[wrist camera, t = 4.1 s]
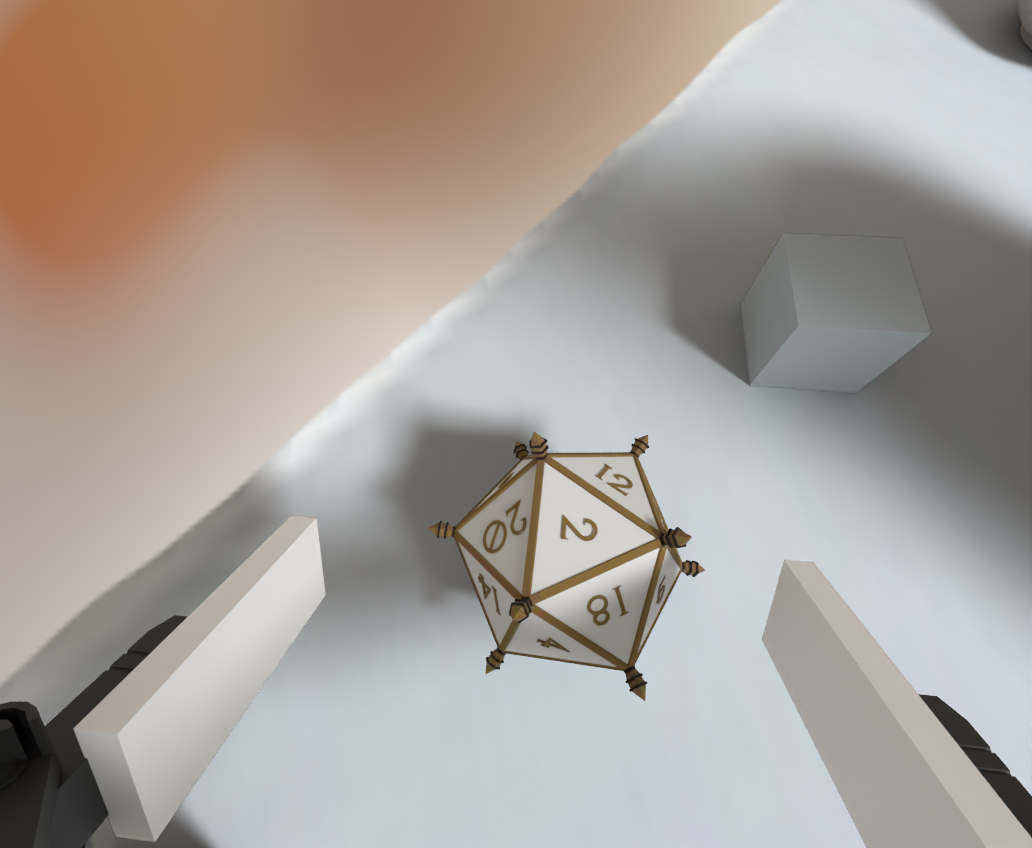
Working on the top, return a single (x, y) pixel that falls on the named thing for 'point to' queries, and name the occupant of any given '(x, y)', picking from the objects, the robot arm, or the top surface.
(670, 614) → the top surface
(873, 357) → the light grey cube
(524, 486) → the game die
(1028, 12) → the coffee pot
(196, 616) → the robot arm
